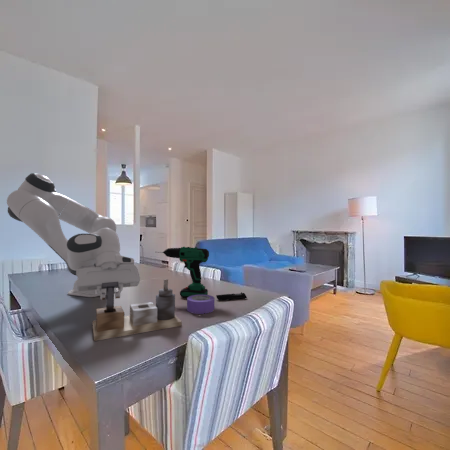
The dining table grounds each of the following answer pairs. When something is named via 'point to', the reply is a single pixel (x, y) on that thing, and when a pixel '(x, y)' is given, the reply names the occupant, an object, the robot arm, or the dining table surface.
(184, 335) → the dining table surface
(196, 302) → the tape roll
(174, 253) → the power drill
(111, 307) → the chuck key
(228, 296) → the electric trimmer
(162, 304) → the stand
